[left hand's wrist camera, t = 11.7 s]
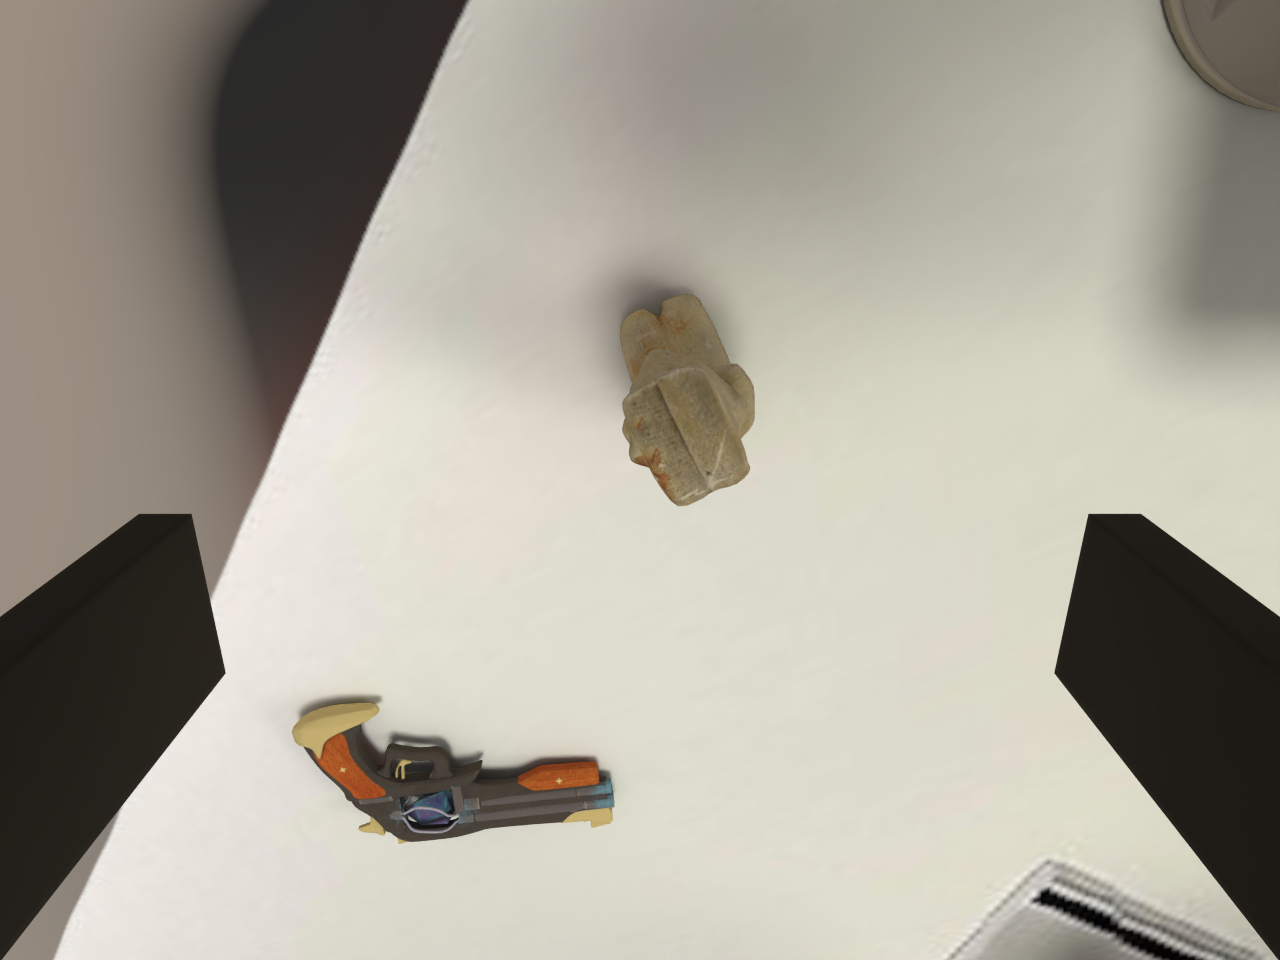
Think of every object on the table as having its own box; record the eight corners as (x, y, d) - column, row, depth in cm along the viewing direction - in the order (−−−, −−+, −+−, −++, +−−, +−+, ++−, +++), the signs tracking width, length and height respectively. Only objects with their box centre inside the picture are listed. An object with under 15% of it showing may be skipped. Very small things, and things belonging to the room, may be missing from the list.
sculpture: (709, 276, 43) (743, 341, 29) (754, 404, 45) (805, 521, 31) (602, 317, 44) (585, 399, 30) (652, 441, 46) (657, 571, 32)
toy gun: (282, 725, 50) (312, 868, 53) (602, 693, 51) (616, 835, 53) (297, 702, 53) (325, 839, 55) (601, 671, 53) (615, 808, 56)
